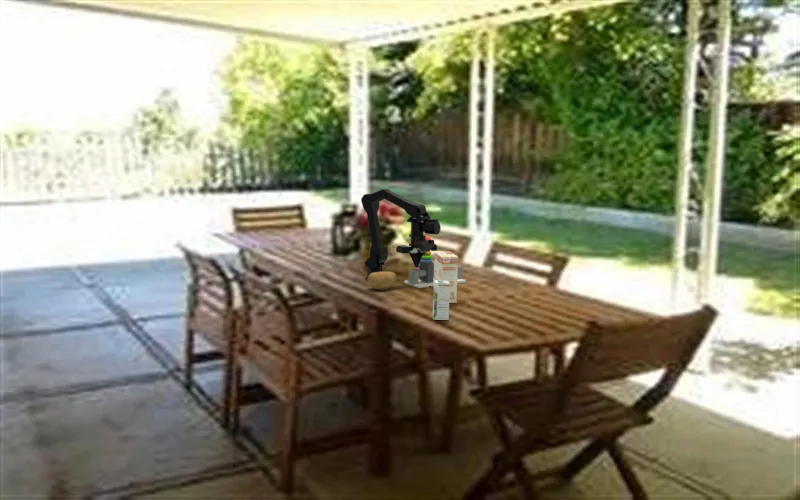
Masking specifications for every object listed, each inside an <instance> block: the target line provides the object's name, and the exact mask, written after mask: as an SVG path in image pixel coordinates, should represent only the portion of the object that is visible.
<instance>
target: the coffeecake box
mask: <svg viewBox="0 0 800 500" xmlns="http://www.w3.org/2000/svg"><path fill="white" fill-rule="evenodd" d="M433 256H434V257H433V258H434V262H433V263H434V275H433V278H434V281H435V280H446V281H449V283H450V301H449V303H458V297H457V296H458V283H457V276H458V266H459V257H458V255H456V254H454V253H453V252H451V251H449V250H446V251H445V250H443V251H438V250H437V251H434V255H433Z"/></svg>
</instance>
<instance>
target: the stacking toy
mask: <svg viewBox="0 0 800 500" xmlns="http://www.w3.org/2000/svg"><path fill="white" fill-rule="evenodd" d="M425 237H426V240H432V239H431V237H430V236H426V235H425ZM425 252H427V253H425V254H424V255H423V256H422V258H421V260H420V261H429V262H432V263H433V259H432V251H431V250H430V251H425ZM419 266H420V263H419ZM419 266H418V267H416V271H417V270H419Z"/></svg>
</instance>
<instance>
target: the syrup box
mask: <svg viewBox="0 0 800 500" xmlns="http://www.w3.org/2000/svg"><path fill="white" fill-rule="evenodd" d="M449 301H450V283H449V281H446V280H435V281H434V286H433V295H432V316H433V317H432V320H433V321H434V320H450V304H449Z"/></svg>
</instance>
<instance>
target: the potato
mask: <svg viewBox="0 0 800 500" xmlns="http://www.w3.org/2000/svg"><path fill="white" fill-rule="evenodd" d="M396 282H397V274H396V273H395V272H393V271H383V272H374V273H371V274H370V275H369V276H368V279H367V283H368V285H369V286H370V288H372V289H375V290H380V291H384V290H385V291H386V290H388V289H389V288H391V287H392V286H393V285H395V283H396Z"/></svg>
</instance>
